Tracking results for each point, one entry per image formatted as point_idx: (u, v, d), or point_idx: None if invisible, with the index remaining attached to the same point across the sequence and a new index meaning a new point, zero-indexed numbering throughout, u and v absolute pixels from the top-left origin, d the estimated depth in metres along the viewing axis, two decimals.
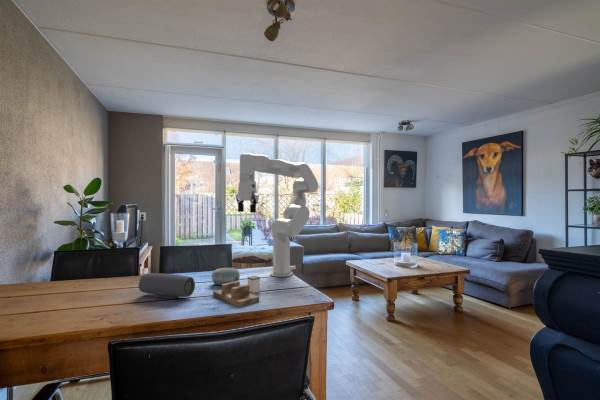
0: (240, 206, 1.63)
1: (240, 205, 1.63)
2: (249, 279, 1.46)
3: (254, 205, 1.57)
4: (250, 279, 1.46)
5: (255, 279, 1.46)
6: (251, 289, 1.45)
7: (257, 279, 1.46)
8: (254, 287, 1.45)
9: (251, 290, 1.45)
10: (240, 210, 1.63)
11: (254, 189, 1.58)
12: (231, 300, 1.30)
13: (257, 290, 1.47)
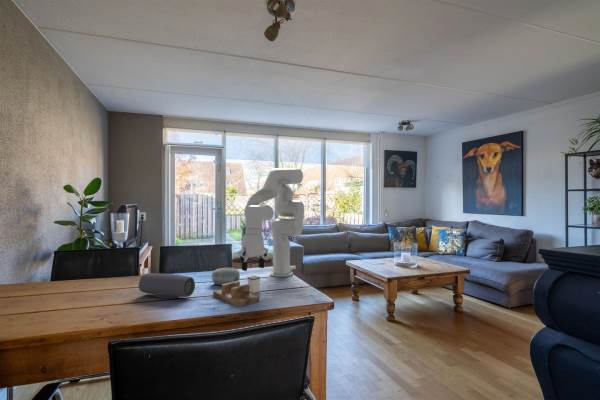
0: None
1: None
2: (249, 279, 1.46)
3: None
4: (250, 279, 1.46)
5: (255, 279, 1.46)
6: (251, 289, 1.45)
7: (257, 279, 1.46)
8: (254, 287, 1.45)
9: (251, 290, 1.45)
10: None
11: None
12: (231, 300, 1.30)
13: (257, 290, 1.47)
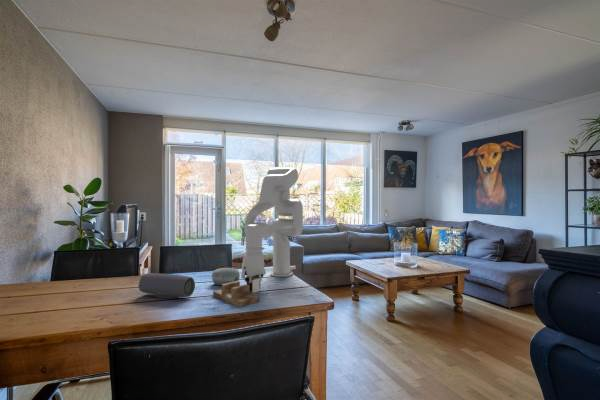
0: None
1: None
2: None
3: None
4: None
5: (255, 279, 1.46)
6: None
7: (257, 279, 1.47)
8: (254, 286, 1.45)
9: None
10: None
11: None
12: (231, 300, 1.30)
13: (257, 290, 1.47)
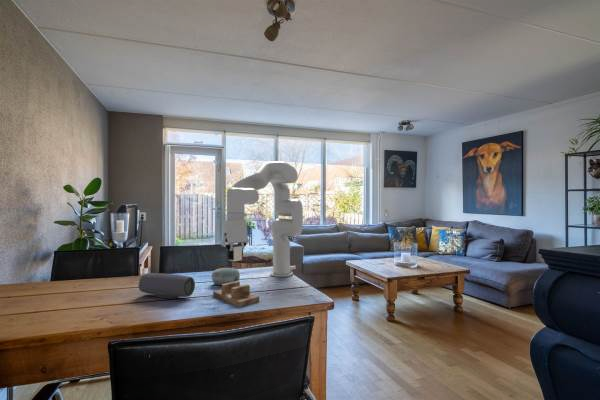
0: None
1: None
2: None
3: None
4: None
5: (237, 246, 1.35)
6: None
7: (239, 247, 1.36)
8: (235, 255, 1.35)
9: None
10: None
11: None
12: (231, 300, 1.30)
13: (239, 259, 1.36)
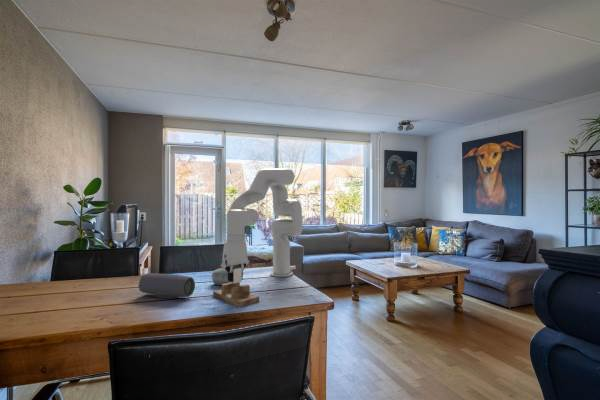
0: None
1: None
2: None
3: None
4: None
5: (236, 268, 1.35)
6: None
7: (239, 268, 1.36)
8: (235, 276, 1.34)
9: None
10: None
11: None
12: (231, 300, 1.30)
13: (239, 280, 1.36)
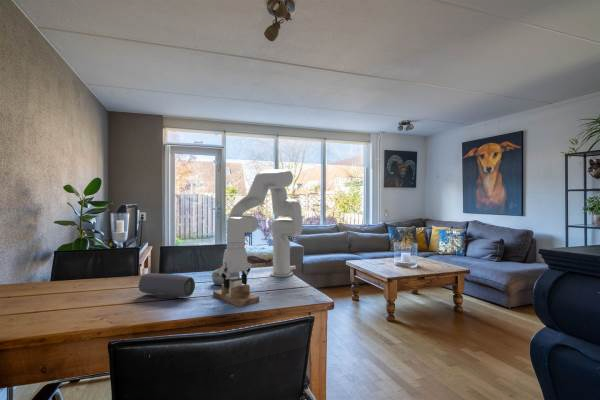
0: None
1: None
2: (230, 280, 1.36)
3: None
4: (231, 280, 1.35)
5: (236, 280, 1.35)
6: None
7: (239, 281, 1.36)
8: None
9: None
10: None
11: None
12: (231, 300, 1.30)
13: None
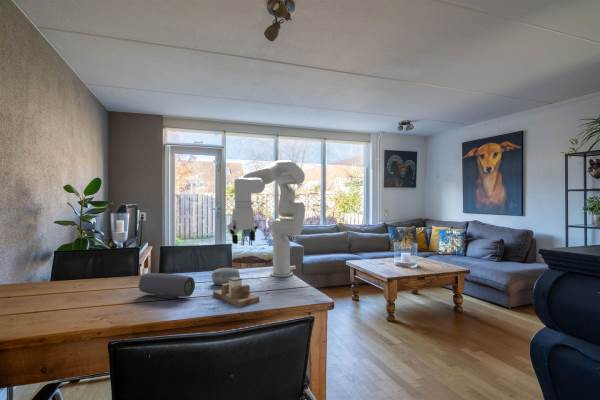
0: None
1: None
2: (230, 280, 1.36)
3: None
4: (231, 280, 1.35)
5: (236, 280, 1.35)
6: None
7: (239, 281, 1.36)
8: None
9: None
10: None
11: None
12: (231, 300, 1.30)
13: None
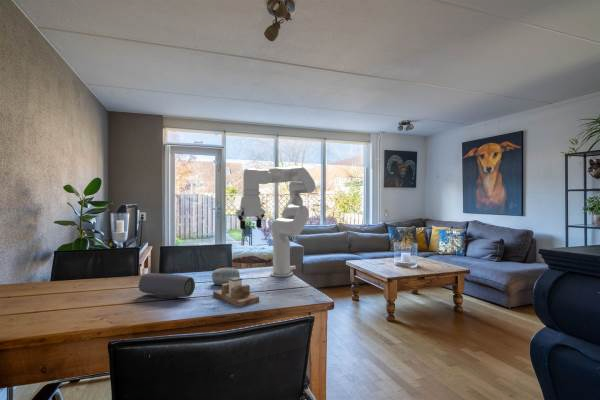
0: None
1: None
2: (230, 280, 1.36)
3: None
4: (231, 280, 1.35)
5: (236, 280, 1.35)
6: None
7: (239, 281, 1.36)
8: None
9: None
10: None
11: None
12: (231, 300, 1.30)
13: None
